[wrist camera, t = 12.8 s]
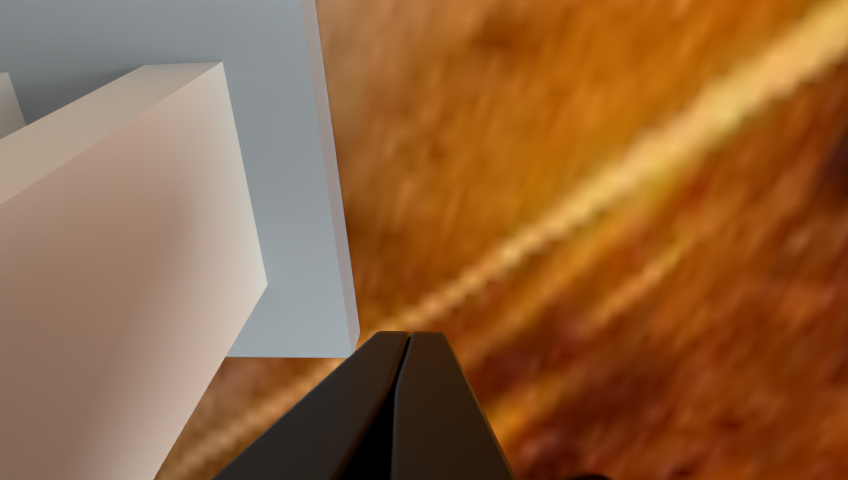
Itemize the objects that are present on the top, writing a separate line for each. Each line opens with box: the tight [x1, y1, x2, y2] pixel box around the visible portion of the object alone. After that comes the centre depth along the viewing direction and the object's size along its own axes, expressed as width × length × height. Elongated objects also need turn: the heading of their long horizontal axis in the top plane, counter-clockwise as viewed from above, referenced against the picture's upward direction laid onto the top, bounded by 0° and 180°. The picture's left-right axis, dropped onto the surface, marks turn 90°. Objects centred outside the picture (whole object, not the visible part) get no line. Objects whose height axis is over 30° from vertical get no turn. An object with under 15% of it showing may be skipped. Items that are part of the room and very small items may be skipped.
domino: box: [0, 61, 267, 480], centre depth 11 cm, size 2×5×8 cm, turn 4°
